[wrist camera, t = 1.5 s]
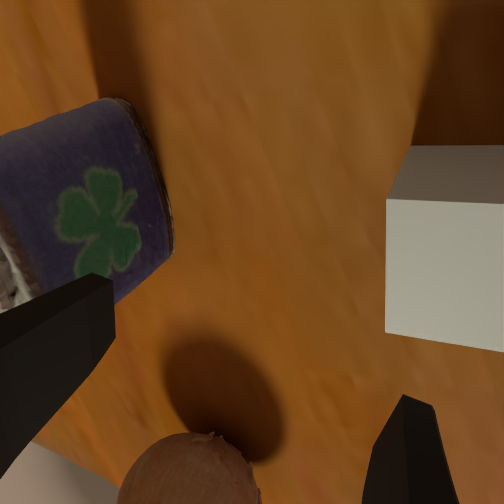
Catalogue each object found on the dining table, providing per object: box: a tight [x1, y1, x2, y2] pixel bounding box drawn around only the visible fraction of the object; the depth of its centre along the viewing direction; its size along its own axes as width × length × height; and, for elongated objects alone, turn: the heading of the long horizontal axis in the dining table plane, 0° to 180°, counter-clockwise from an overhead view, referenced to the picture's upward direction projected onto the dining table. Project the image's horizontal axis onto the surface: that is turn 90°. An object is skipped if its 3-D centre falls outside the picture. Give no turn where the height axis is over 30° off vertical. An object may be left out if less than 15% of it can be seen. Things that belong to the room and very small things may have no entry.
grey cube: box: [385, 145, 504, 352], centre depth 15 cm, size 5×5×5 cm
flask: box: [0, 97, 175, 313], centre depth 19 cm, size 9×3×11 cm, turn 9°
